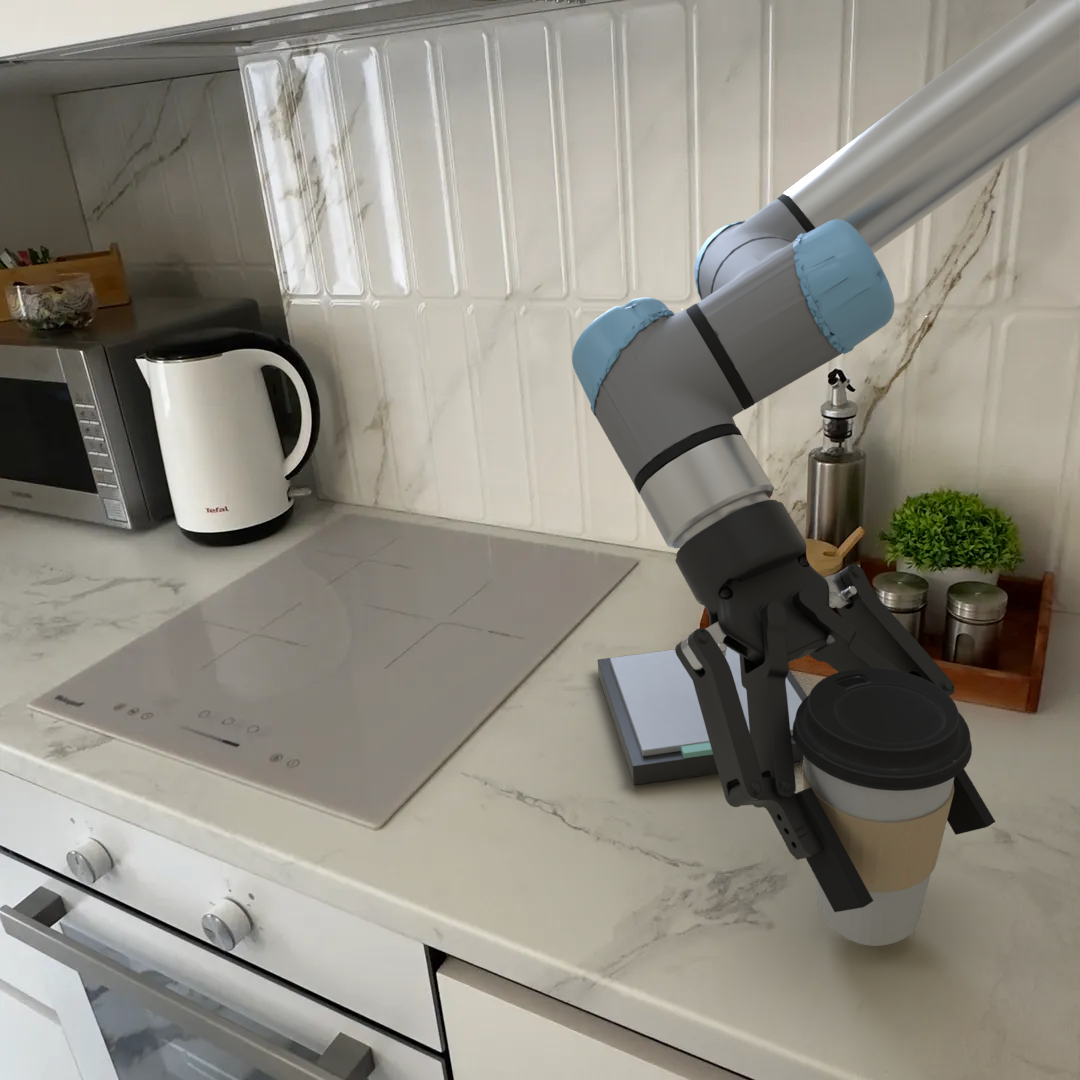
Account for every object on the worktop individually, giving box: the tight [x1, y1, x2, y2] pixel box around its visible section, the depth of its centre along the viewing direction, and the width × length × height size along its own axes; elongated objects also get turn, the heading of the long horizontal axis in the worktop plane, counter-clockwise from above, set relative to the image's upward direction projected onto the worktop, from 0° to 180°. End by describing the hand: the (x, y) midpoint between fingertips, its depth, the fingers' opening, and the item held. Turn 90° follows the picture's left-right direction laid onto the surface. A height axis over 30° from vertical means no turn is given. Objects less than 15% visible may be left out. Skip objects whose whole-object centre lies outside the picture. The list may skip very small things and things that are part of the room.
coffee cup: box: [793, 668, 973, 947], centre depth 57 cm, size 9×9×15 cm
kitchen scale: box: [597, 646, 808, 786], centre depth 83 cm, size 16×16×2 cm
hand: (916, 865), depth 55 cm, fingers closed on coffee cup, 9 cm apart
